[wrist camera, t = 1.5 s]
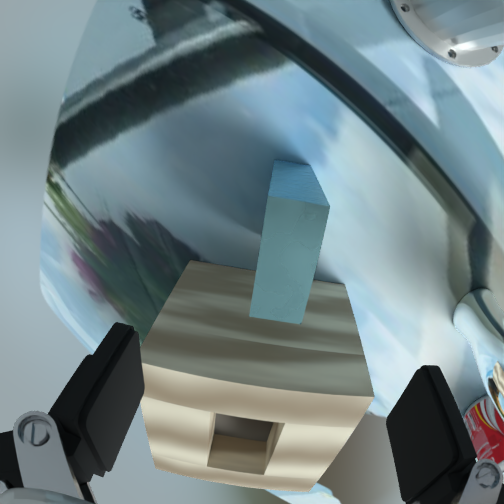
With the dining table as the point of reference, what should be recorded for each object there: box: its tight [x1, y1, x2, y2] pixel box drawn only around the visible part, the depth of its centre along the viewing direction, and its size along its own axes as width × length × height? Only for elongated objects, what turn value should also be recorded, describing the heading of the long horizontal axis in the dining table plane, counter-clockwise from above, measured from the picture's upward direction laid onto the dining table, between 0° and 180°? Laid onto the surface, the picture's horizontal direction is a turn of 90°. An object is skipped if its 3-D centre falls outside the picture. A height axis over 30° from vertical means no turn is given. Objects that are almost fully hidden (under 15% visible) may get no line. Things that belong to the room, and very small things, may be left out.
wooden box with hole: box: [140, 260, 374, 492], centre depth 27 cm, size 16×15×14 cm
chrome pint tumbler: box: [453, 288, 504, 422], centre depth 23 cm, size 7×7×15 cm
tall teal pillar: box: [249, 160, 330, 324], centre depth 22 cm, size 7×3×12 cm, turn 173°
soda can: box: [464, 395, 504, 473], centre depth 31 cm, size 7×7×13 cm
